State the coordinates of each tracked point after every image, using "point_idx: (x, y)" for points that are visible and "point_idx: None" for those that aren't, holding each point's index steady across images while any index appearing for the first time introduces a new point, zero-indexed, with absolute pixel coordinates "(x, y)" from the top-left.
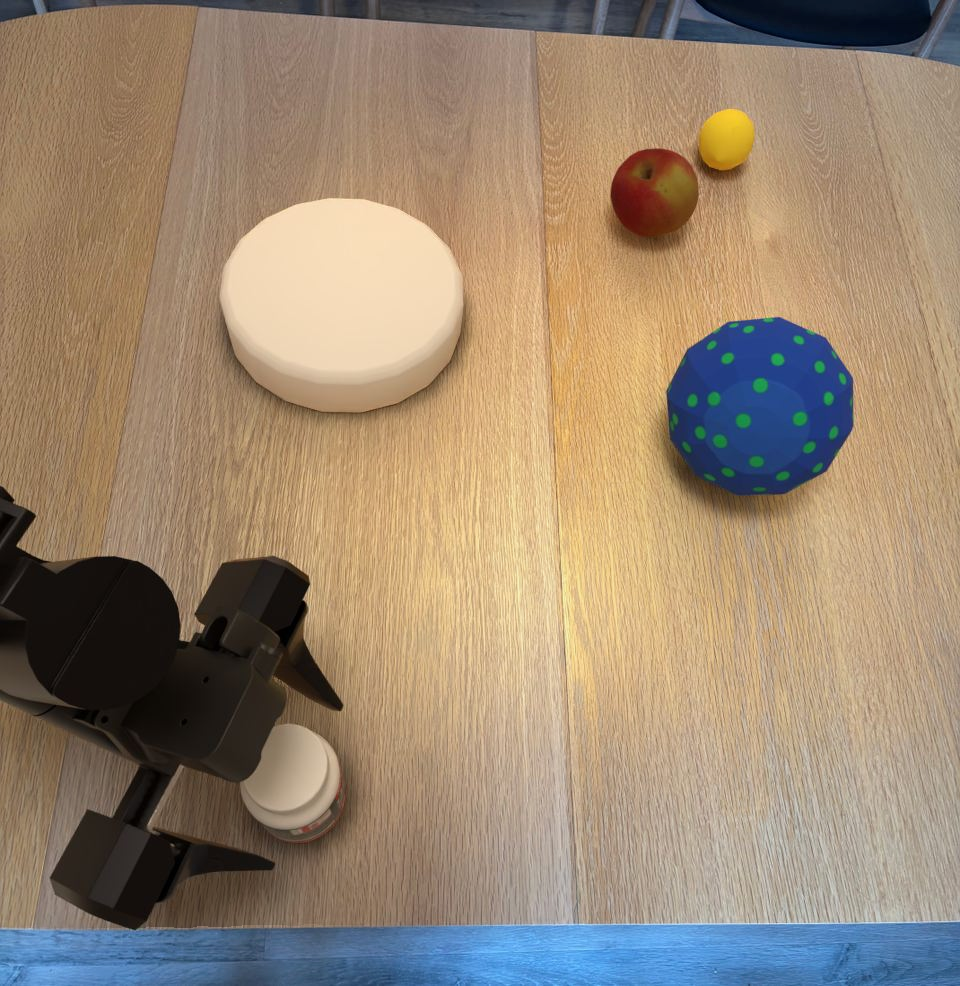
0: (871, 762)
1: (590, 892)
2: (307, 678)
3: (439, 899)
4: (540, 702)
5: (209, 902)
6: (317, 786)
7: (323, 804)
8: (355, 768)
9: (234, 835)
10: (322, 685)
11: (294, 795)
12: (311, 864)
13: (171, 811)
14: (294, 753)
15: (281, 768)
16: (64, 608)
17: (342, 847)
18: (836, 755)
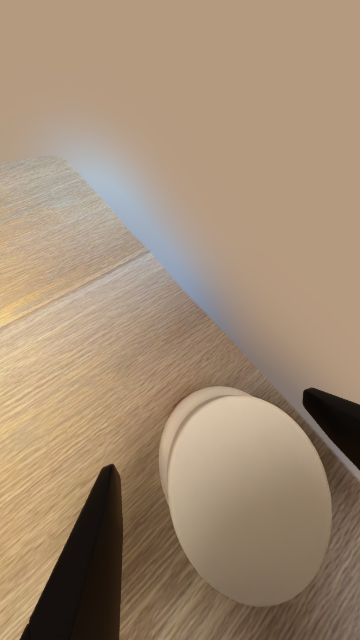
0: (4, 184)
1: (135, 250)
2: (63, 637)
3: (190, 307)
4: (40, 325)
5: None
6: (231, 400)
7: (222, 390)
8: (157, 410)
9: None
10: (77, 550)
11: (267, 423)
12: None
13: None
14: (221, 485)
15: (256, 485)
16: None
17: (208, 377)
18: (6, 195)
